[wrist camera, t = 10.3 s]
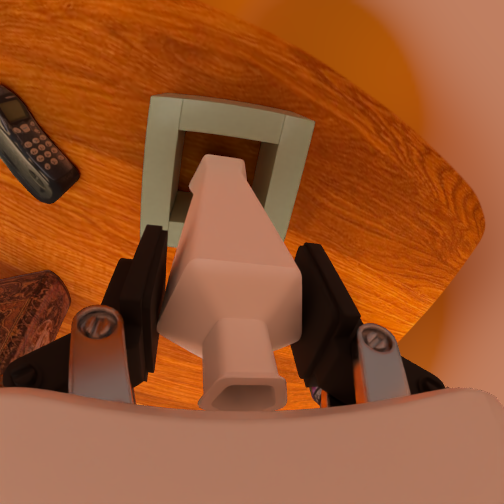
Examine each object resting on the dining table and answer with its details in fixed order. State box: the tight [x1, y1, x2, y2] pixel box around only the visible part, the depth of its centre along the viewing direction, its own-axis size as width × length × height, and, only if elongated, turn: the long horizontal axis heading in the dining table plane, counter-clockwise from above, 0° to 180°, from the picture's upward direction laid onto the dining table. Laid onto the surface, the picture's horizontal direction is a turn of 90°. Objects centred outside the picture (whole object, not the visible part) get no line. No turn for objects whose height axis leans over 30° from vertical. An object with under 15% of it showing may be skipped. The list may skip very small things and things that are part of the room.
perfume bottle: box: [157, 154, 302, 411], centre depth 13 cm, size 5×4×15 cm
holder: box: [140, 93, 315, 247], centre depth 22 cm, size 10×10×6 cm
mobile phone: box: [0, 85, 80, 204], centre depth 17 cm, size 5×3×15 cm
